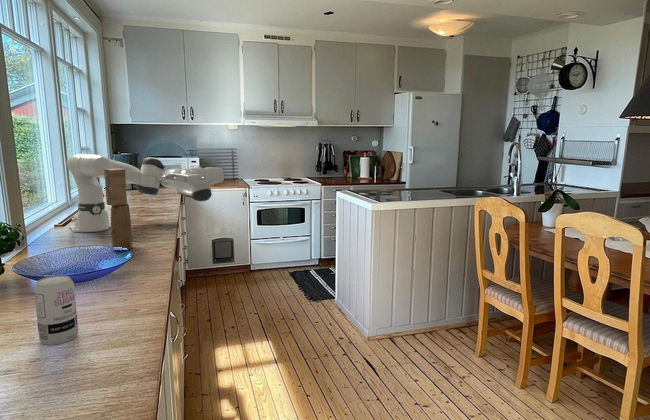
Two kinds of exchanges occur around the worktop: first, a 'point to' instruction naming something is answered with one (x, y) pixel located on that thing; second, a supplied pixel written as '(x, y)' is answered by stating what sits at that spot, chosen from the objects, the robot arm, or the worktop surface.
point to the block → (121, 226)
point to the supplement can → (56, 310)
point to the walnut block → (115, 187)
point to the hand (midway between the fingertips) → (169, 178)
